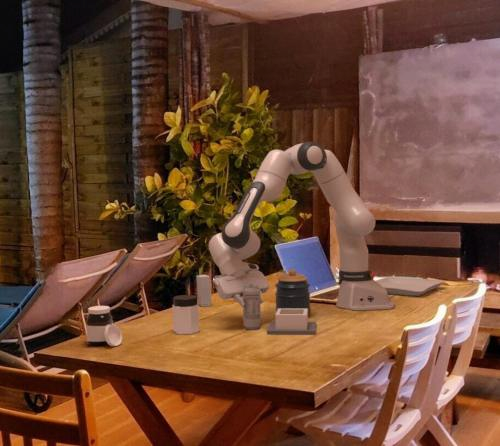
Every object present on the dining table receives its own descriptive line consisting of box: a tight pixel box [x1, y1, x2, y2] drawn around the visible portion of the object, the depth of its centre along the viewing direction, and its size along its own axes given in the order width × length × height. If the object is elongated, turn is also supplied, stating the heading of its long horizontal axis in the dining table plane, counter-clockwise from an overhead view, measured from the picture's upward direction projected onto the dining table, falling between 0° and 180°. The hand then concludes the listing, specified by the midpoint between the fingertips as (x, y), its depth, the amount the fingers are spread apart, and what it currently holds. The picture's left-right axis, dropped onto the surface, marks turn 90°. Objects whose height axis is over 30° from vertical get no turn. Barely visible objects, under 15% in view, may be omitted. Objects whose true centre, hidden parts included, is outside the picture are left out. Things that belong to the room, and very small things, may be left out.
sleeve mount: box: [266, 308, 317, 336], centre depth 243 cm, size 16×14×6 cm
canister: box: [274, 268, 311, 318], centre depth 263 cm, size 13×13×18 cm
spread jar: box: [86, 305, 123, 348], centre depth 229 cm, size 12×11×12 cm
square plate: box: [375, 276, 445, 297], centre depth 310 cm, size 27×27×4 cm
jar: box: [172, 294, 200, 335], centre depth 243 cm, size 9×8×12 cm
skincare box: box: [195, 274, 212, 308], centre depth 287 cm, size 6×4×12 cm
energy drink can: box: [242, 284, 262, 331], centre depth 246 cm, size 6×6×15 cm
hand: (252, 304), depth 245 cm, fingers closed on energy drink can, 6 cm apart
